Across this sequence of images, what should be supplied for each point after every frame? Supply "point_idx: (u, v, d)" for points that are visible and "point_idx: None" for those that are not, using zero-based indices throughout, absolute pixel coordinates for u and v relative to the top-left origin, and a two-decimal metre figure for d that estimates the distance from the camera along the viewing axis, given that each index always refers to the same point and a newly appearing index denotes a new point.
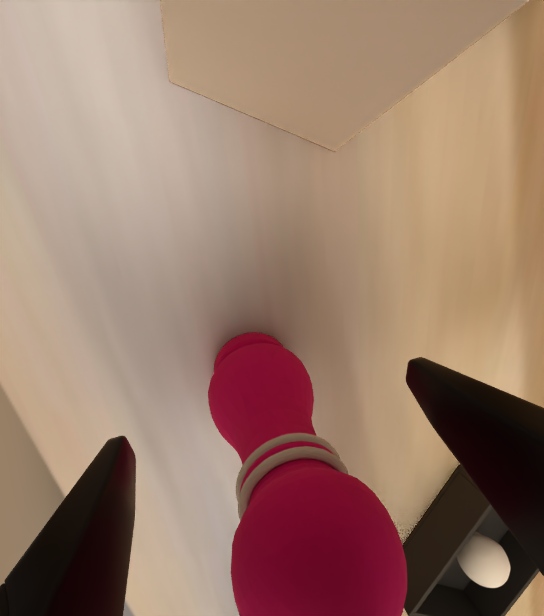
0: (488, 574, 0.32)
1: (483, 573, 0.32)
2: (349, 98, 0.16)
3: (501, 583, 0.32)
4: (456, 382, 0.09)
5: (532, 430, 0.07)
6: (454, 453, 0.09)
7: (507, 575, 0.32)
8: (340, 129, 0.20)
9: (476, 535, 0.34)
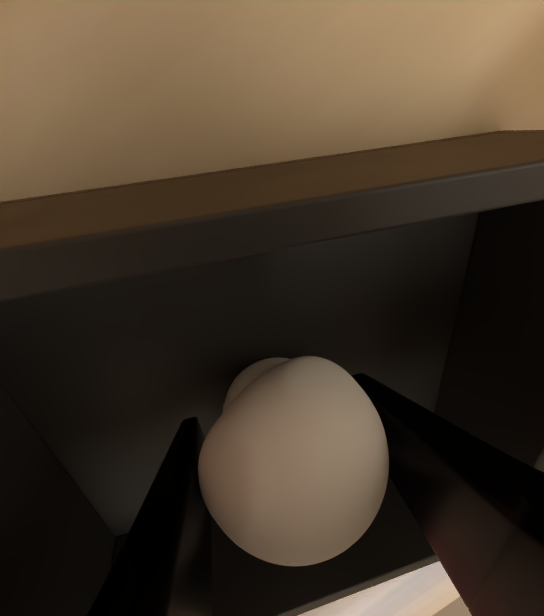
0: None
1: None
2: None
3: (335, 543, 0.06)
4: (388, 401, 0.08)
5: (448, 457, 0.06)
6: (389, 473, 0.09)
7: (286, 541, 0.06)
8: None
9: None
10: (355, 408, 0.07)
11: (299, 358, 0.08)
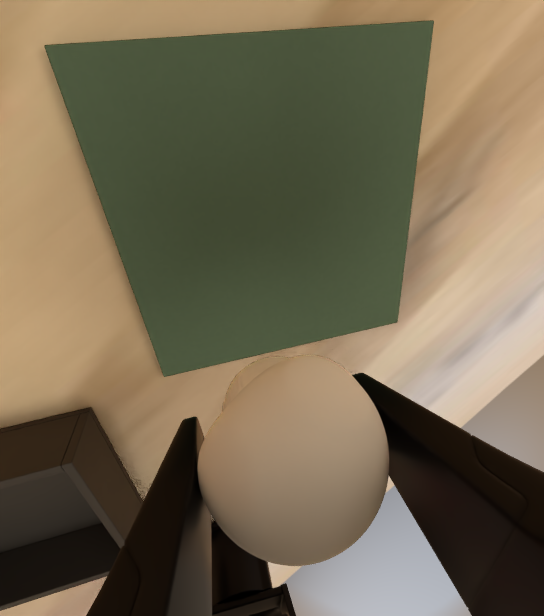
0: None
1: None
2: None
3: (335, 542, 0.06)
4: (388, 401, 0.08)
5: (448, 457, 0.06)
6: (389, 473, 0.09)
7: (286, 540, 0.06)
8: None
9: None
10: (356, 407, 0.07)
11: (299, 357, 0.08)
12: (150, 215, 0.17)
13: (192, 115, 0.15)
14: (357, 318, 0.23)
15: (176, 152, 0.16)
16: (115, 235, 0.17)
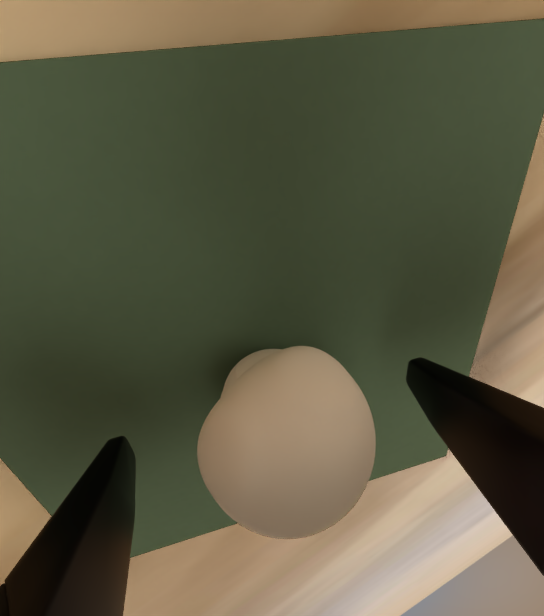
0: None
1: None
2: None
3: (323, 515, 0.07)
4: (456, 382, 0.09)
5: (532, 430, 0.07)
6: (454, 452, 0.09)
7: (278, 512, 0.07)
8: None
9: None
10: (343, 393, 0.07)
11: (292, 348, 0.08)
12: (33, 381, 0.09)
13: (89, 216, 0.07)
14: (390, 460, 0.16)
15: (65, 281, 0.08)
16: None
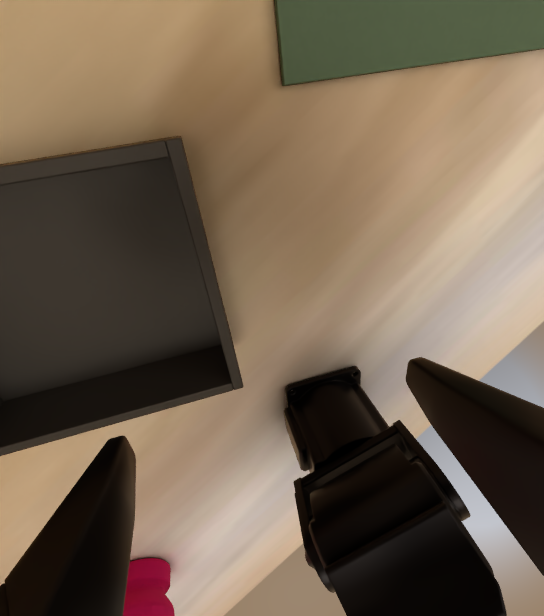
0: None
1: None
2: None
3: None
4: (456, 382, 0.09)
5: (532, 430, 0.07)
6: (454, 452, 0.09)
7: None
8: None
9: None
10: None
11: None
12: None
13: None
14: (542, 20, 0.17)
15: None
16: None
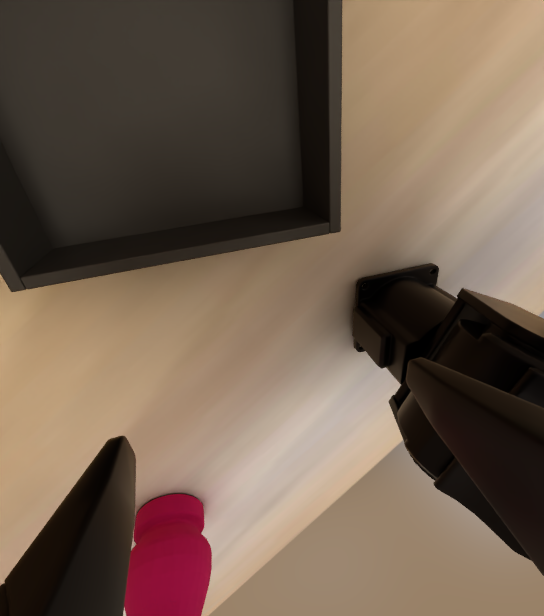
0: None
1: None
2: None
3: None
4: (456, 382, 0.09)
5: (532, 430, 0.07)
6: (454, 452, 0.09)
7: None
8: None
9: None
10: None
11: None
12: None
13: None
14: None
15: None
16: None
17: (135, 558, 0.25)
